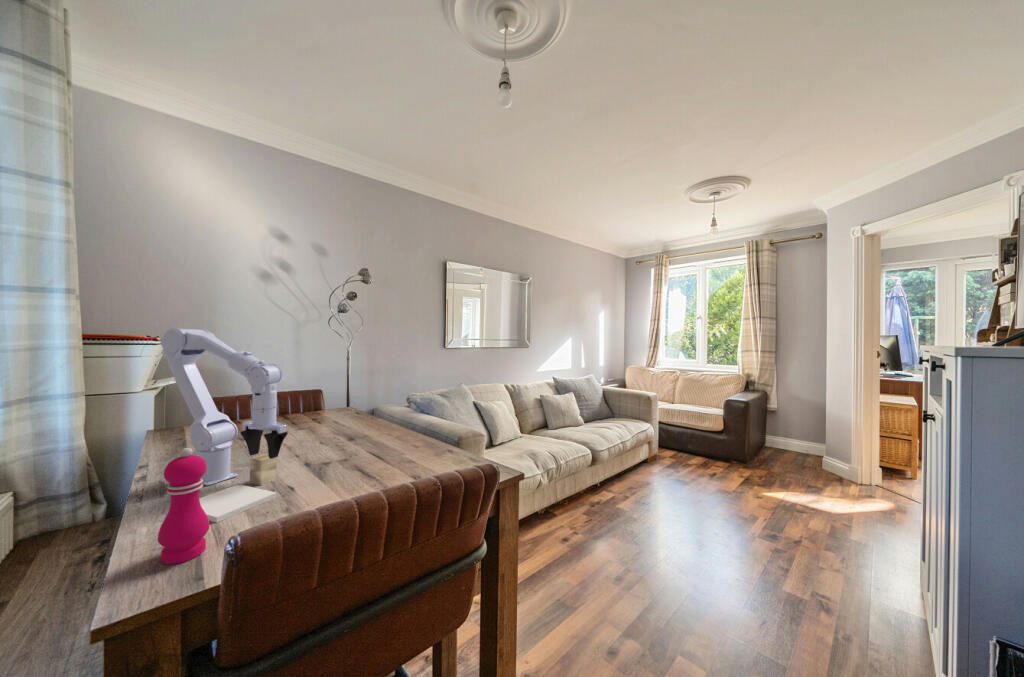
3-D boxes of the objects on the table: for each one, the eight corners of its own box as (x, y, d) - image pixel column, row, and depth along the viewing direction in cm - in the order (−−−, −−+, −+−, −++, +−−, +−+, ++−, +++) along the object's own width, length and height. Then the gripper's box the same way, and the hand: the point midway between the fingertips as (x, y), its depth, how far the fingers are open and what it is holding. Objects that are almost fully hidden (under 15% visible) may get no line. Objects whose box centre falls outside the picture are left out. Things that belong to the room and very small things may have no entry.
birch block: (249, 483, 102) (250, 458, 102) (265, 477, 107) (265, 453, 107) (261, 485, 101) (261, 460, 101) (276, 479, 105) (276, 455, 105)
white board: (176, 511, 85) (176, 506, 85) (238, 488, 98) (238, 484, 98) (216, 522, 81) (217, 517, 81) (276, 497, 94) (276, 492, 94)
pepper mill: (164, 571, 64) (167, 456, 64) (151, 557, 68) (153, 449, 68) (215, 551, 70) (217, 446, 70) (200, 539, 74) (202, 440, 74)
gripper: (232, 408, 102) (231, 457, 102) (269, 412, 98) (268, 463, 98) (257, 404, 109) (256, 449, 109) (293, 407, 104) (292, 455, 104)
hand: (263, 455), depth 104 cm, fingers open, 7 cm apart
